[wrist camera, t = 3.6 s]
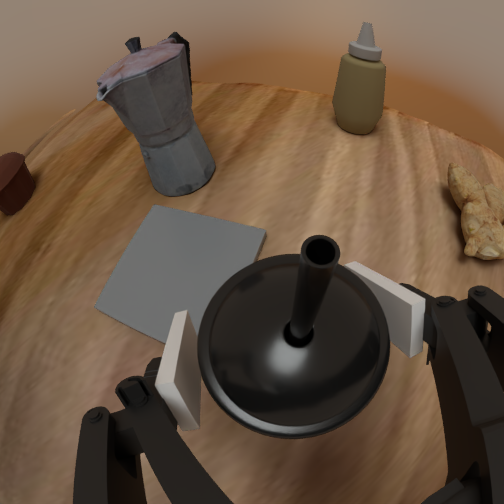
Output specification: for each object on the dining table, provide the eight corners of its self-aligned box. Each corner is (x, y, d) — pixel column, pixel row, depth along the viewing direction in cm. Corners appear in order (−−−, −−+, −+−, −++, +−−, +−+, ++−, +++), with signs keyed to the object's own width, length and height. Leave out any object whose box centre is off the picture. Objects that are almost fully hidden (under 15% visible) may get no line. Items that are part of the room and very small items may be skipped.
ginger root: (427, 243, 26) (461, 184, 20) (431, 184, 35) (450, 140, 29) (517, 302, 21) (556, 258, 15) (503, 231, 30) (526, 194, 24)
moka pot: (128, 210, 33) (57, 76, 16) (177, 137, 40) (145, 24, 23) (192, 220, 31) (132, 51, 14) (234, 140, 39) (213, 11, 22)
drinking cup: (225, 356, 23) (93, 193, 6) (304, 319, 24) (353, 105, 7) (262, 433, 19) (201, 549, 2) (344, 392, 20) (538, 316, 3)
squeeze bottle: (354, 144, 36) (371, 30, 21) (320, 119, 40) (325, 16, 25) (387, 133, 38) (408, 33, 23) (354, 109, 42) (365, 18, 27)
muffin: (37, 169, 43) (16, 135, 35) (43, 190, 39) (16, 152, 30) (1, 204, 40) (-24, 174, 31) (2, 232, 35) (-29, 199, 26)
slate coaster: (98, 310, 26) (93, 307, 25) (156, 209, 32) (154, 204, 32) (214, 364, 23) (212, 363, 22) (266, 235, 29) (266, 230, 28)
